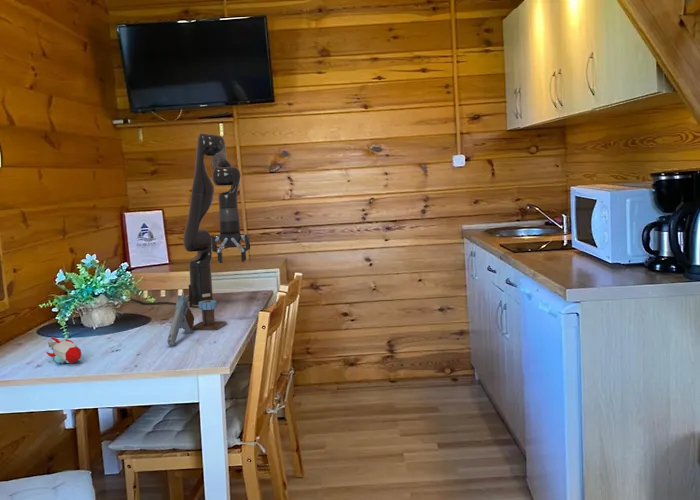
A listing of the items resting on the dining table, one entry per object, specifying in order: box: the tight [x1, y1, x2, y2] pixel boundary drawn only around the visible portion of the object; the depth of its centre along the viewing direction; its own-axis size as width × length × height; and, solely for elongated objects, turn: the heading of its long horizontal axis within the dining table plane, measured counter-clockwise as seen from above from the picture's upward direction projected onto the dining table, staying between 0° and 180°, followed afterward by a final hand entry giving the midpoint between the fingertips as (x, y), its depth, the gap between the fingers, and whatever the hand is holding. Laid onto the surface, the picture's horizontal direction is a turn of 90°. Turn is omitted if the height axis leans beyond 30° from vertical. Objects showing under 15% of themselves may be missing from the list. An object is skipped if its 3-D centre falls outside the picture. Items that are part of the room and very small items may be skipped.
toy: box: [45, 336, 82, 364], centre depth 207 cm, size 21×7×7 cm, turn 40°
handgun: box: [167, 293, 195, 347], centre depth 232 cm, size 4×25×15 cm
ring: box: [198, 299, 218, 311], centre depth 248 cm, size 6×6×2 cm
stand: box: [192, 300, 228, 331], centre depth 248 cm, size 10×10×10 cm
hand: (232, 262), depth 255 cm, fingers open, 8 cm apart
